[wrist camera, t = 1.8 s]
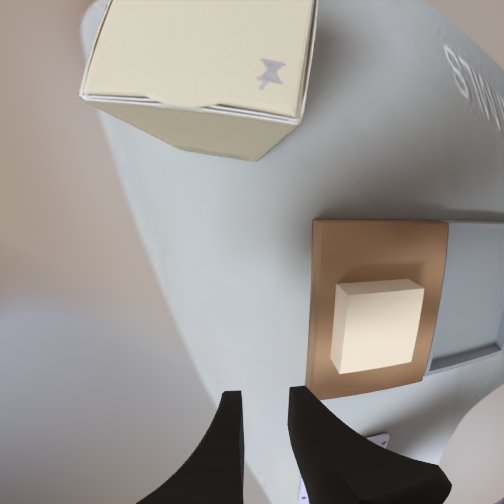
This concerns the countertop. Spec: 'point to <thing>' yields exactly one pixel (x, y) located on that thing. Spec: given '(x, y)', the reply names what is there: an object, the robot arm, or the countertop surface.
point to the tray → (470, 297)
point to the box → (204, 71)
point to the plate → (365, 270)
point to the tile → (375, 324)
